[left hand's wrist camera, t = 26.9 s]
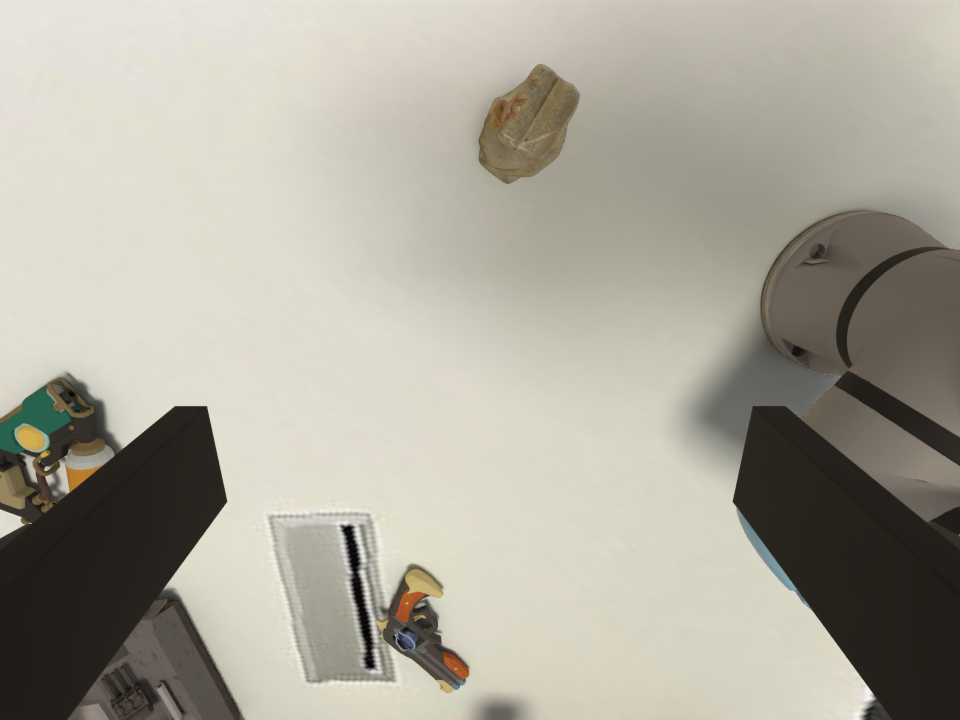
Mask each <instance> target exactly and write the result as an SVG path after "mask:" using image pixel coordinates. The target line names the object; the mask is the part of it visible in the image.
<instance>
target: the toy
mask: <svg viewBox="0 0 960 720" xmlns="http://www.w3.org/2000/svg"><path fill="white" fill-rule="evenodd" d="M68 720H239V713H238V711H237V709H236V707H235V705H234V703H233V701H232V700H231V698H230V696H229V694H228V692H227V690H226V688H225V687H224V685H223V683H222V681H221V679H220V677H219V675H218V674H217V672H216V670H215V668H214V666H213V664H212V662H211V661H210V659H209V657H208V655H207V653H206V651H205V649H204V648H203V646H202V644H201V642H200V640H199V638H198V636H197V635H196V633H195V631H194V629H193V627H192V625H191V623H190V622H189V620H188V618H187V616H186V614H185V612H184V610H183V609H182V607H181V605H180V603H179V601H172V602H167V599H162V600H155V601H154V602H153V604H152V605H151V607H150V608H149V609H148V611H147V612H146V613H145V615H144V616H143V617H142V619H141V620H140V622H139V623H138V624H137V626H136V627H135V628H134V630H133V631H132V632H131V634H130V635H129V637H128V638H127V639H126V641H125V642H124V643H123V645H122V646H121V647H120V649H119V650H118V652H117V653H116V654H115V656H114V657H113V658H112V660H111V661H110V662H109V664H108V665H107V667H106V668H105V669H104V671H103V672H102V673H101V675H100V676H99V677H98V679H97V680H96V682H95V683H94V684H93V686H92V687H91V688H90V690H89V691H88V693H87V694H86V695H85V697H84V698H83V699H82V701H81V702H80V703H79V705H78V706H77V708H76V709H75V710H74V712H73V713H72V714H71V716H70V717H69V718H68Z"/></svg>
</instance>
